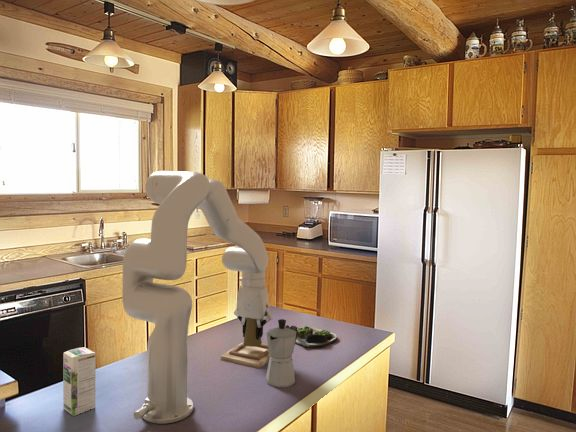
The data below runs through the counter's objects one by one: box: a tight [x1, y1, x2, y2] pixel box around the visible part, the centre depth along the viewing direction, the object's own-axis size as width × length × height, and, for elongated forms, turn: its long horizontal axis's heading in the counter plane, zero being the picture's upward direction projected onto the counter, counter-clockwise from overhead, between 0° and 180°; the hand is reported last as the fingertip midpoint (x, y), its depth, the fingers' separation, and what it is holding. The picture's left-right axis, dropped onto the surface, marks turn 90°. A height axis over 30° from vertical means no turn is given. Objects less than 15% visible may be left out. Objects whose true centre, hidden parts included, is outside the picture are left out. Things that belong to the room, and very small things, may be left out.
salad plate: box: [295, 325, 338, 349], centre depth 166 cm, size 19×18×5 cm
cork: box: [243, 317, 263, 347], centre depth 148 cm, size 6×6×11 cm
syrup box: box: [62, 347, 96, 417], centre depth 112 cm, size 6×6×14 cm
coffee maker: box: [265, 319, 298, 389], centre depth 131 cm, size 15×9×18 cm, turn 149°
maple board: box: [220, 341, 271, 369], centre depth 149 cm, size 16×14×2 cm
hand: (252, 336), depth 148 cm, fingers closed on cork, 4 cm apart
